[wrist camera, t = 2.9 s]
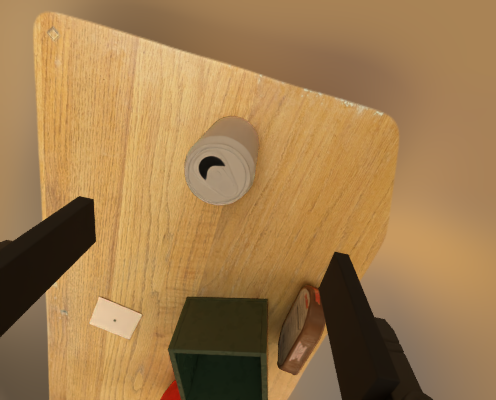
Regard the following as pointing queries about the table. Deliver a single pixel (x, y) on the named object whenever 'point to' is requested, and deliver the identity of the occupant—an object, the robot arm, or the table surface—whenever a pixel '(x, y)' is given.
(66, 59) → the table surface
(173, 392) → the apple
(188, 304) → the waste bin
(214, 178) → the beverage can
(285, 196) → the table surface
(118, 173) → the table surface
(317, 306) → the tin
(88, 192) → the table surface
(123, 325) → the coaster
